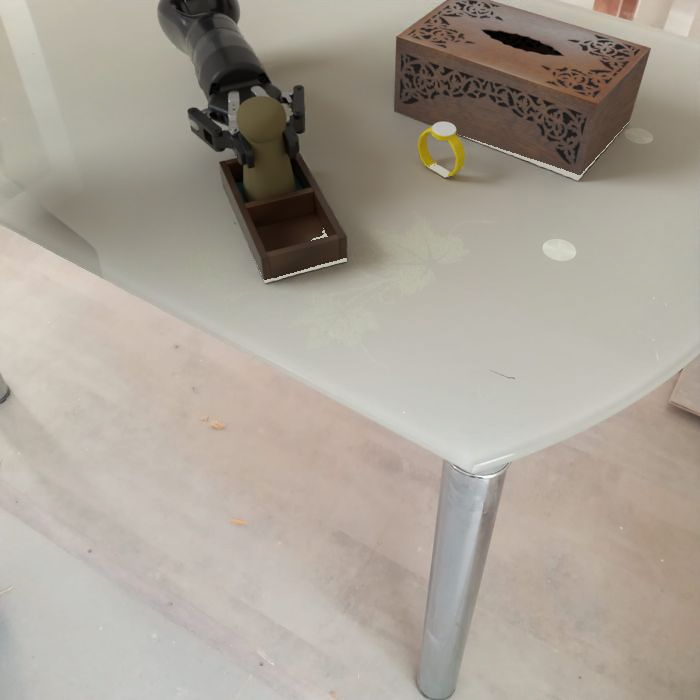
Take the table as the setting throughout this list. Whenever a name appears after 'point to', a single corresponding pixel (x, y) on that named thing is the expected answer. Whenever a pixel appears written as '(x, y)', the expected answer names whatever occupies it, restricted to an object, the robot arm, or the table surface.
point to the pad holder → (286, 222)
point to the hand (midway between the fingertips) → (272, 155)
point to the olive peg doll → (265, 149)
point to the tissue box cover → (518, 80)
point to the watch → (444, 133)
